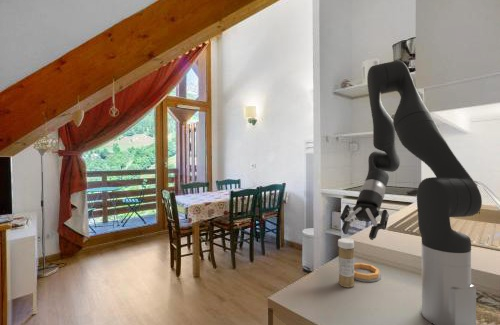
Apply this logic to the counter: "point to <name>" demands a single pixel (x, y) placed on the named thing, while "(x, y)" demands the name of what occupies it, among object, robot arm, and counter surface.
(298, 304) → the counter surface
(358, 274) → the orange rimmed grey dish
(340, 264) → the spice jar
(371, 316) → the counter surface
